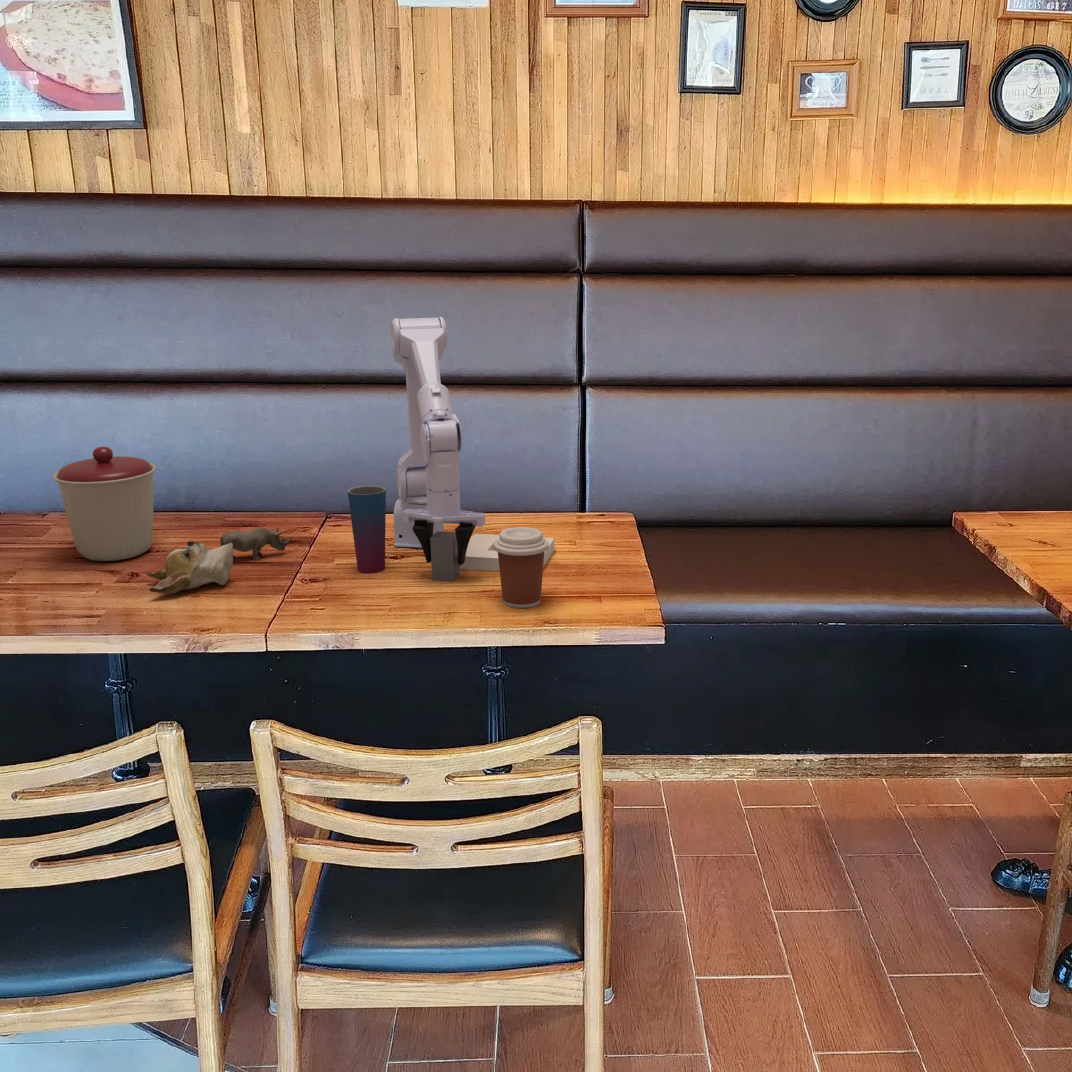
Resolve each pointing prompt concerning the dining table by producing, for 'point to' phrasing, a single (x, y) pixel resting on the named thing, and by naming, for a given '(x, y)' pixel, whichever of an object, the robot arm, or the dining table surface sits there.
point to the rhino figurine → (254, 540)
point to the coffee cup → (521, 565)
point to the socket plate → (490, 553)
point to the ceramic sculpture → (193, 568)
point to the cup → (368, 526)
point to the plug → (444, 557)
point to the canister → (108, 505)
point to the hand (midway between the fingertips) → (445, 562)
